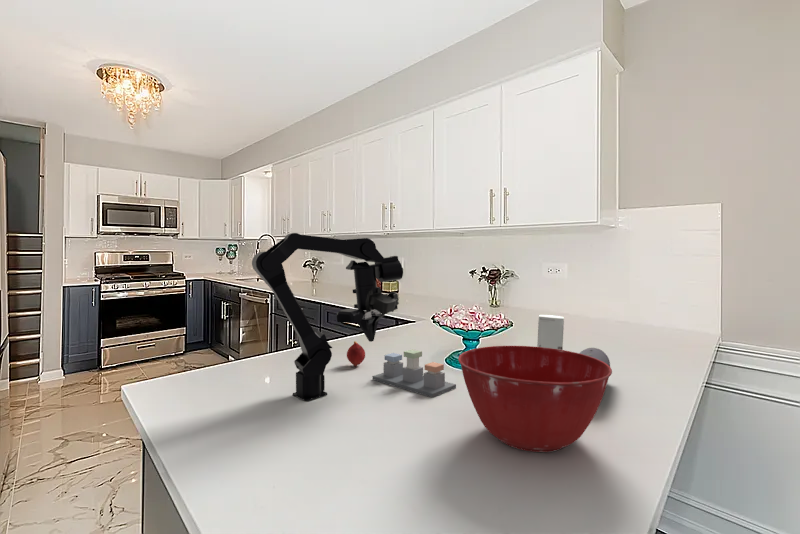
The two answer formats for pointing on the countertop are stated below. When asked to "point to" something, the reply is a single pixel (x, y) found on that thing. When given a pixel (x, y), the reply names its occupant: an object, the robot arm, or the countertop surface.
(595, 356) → the bluetooth speaker
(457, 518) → the countertop surface
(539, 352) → the mixing bowl
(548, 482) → the countertop surface
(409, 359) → the key
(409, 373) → the key console
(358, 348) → the onion
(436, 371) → the key
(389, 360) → the key
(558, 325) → the skincare box
